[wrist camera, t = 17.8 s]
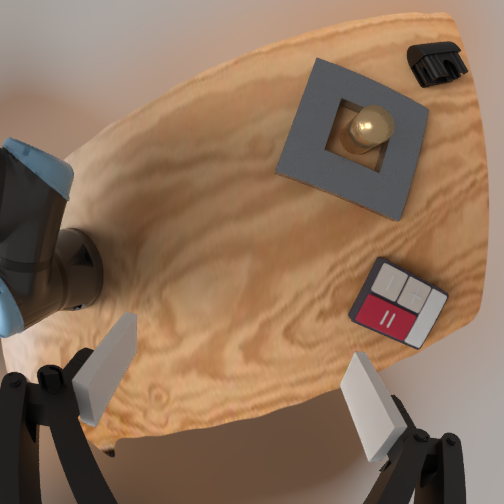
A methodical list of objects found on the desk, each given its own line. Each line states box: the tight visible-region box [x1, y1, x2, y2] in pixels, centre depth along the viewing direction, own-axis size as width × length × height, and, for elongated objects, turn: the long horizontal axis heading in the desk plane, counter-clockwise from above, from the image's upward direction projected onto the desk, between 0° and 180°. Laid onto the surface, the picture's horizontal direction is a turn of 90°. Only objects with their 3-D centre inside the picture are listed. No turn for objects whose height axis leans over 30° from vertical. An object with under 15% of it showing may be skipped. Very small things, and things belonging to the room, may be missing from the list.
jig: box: [275, 58, 429, 221], centre depth 40 cm, size 20×20×3 cm
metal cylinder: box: [341, 105, 395, 154], centre depth 37 cm, size 5×5×10 cm
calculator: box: [348, 257, 449, 350], centre depth 44 cm, size 11×4×15 cm
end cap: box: [407, 41, 468, 88], centre depth 35 cm, size 10×7×7 cm
